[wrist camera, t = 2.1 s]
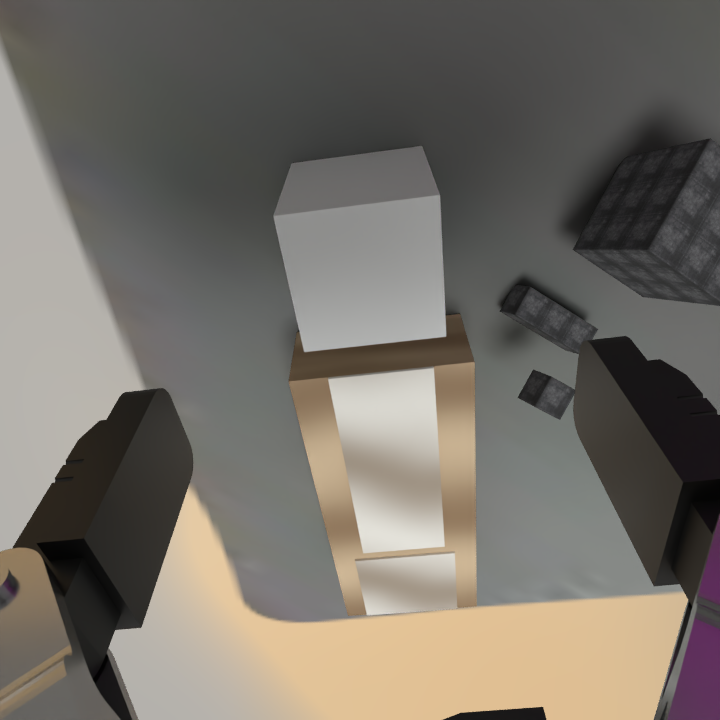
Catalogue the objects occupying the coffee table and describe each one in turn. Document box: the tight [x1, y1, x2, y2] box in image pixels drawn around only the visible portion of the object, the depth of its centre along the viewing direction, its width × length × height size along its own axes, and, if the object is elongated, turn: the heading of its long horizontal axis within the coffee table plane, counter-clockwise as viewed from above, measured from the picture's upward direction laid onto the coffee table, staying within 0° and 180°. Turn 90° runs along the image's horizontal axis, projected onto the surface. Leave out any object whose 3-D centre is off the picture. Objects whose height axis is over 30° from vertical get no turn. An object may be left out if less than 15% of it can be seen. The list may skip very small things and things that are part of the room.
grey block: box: [273, 146, 446, 352], centre depth 16 cm, size 4×4×4 cm
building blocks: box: [500, 138, 720, 419], centre depth 17 cm, size 3×6×8 cm
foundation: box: [289, 314, 477, 616], centre depth 23 cm, size 14×6×3 cm, turn 7°
